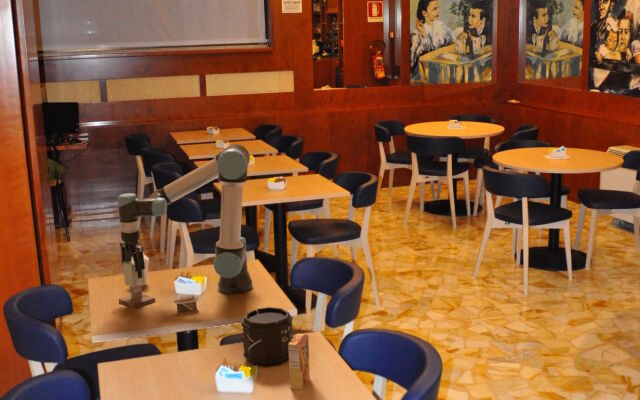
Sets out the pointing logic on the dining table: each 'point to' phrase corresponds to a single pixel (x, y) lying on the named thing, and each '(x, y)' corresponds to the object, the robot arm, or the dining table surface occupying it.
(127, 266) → the sage cap
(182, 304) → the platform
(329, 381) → the dining table surface
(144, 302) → the post base
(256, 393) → the dining table surface
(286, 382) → the dining table surface
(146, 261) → the soft serve ice cream cone
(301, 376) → the candy box
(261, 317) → the wooden barrel
